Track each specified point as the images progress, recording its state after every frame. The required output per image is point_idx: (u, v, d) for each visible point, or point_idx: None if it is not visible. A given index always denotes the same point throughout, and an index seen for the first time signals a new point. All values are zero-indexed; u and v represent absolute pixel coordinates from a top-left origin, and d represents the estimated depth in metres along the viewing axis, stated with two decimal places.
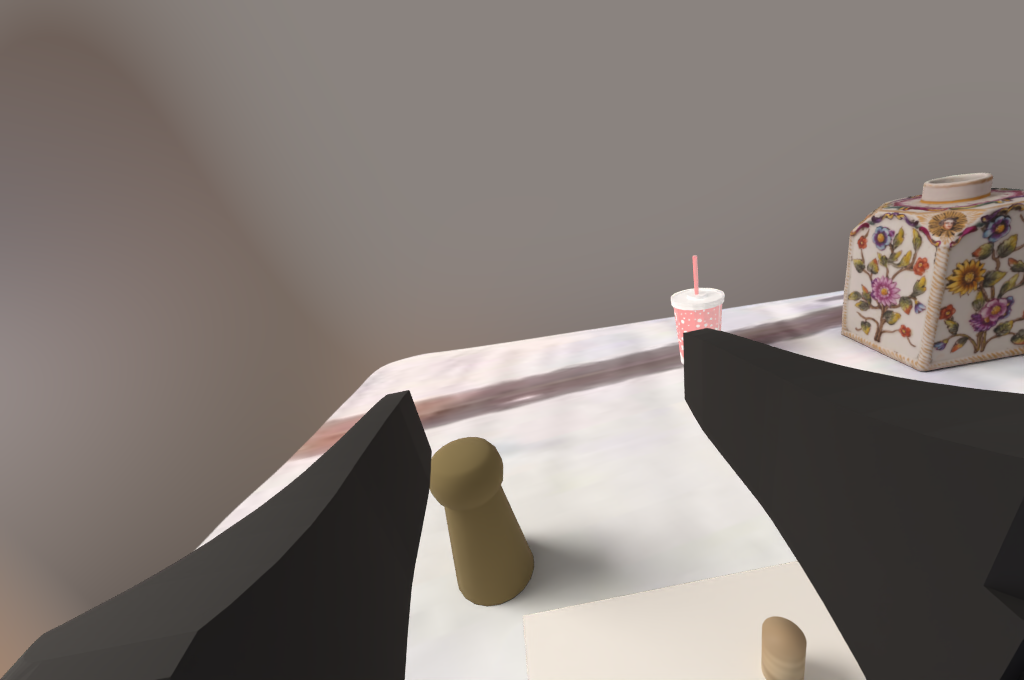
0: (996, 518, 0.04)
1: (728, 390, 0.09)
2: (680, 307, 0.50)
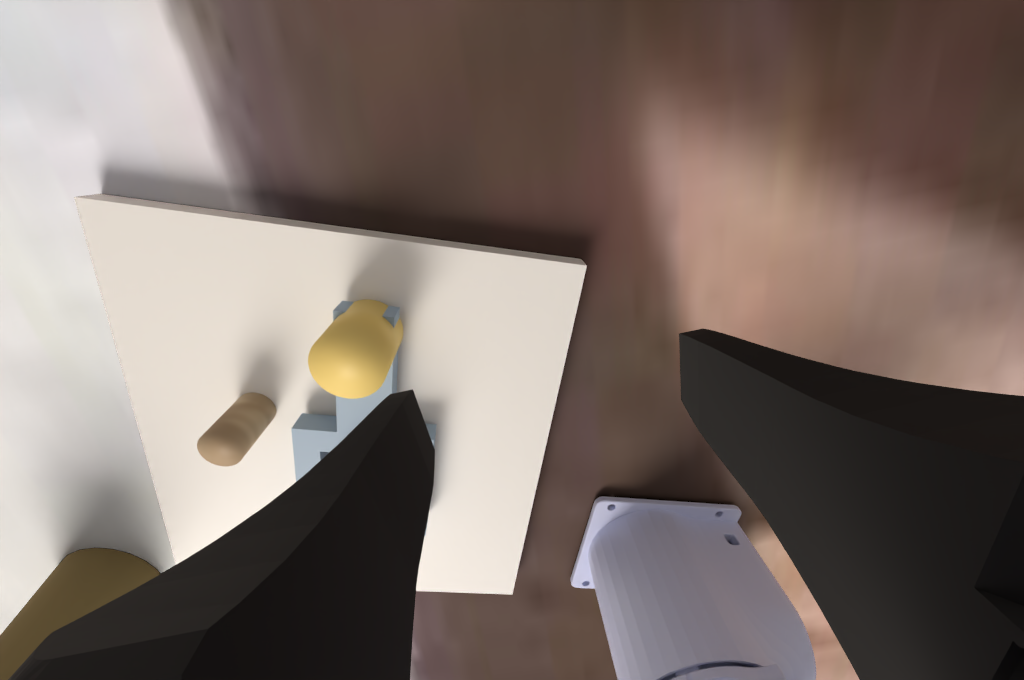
0: (986, 520, 0.04)
1: (724, 391, 0.09)
2: None
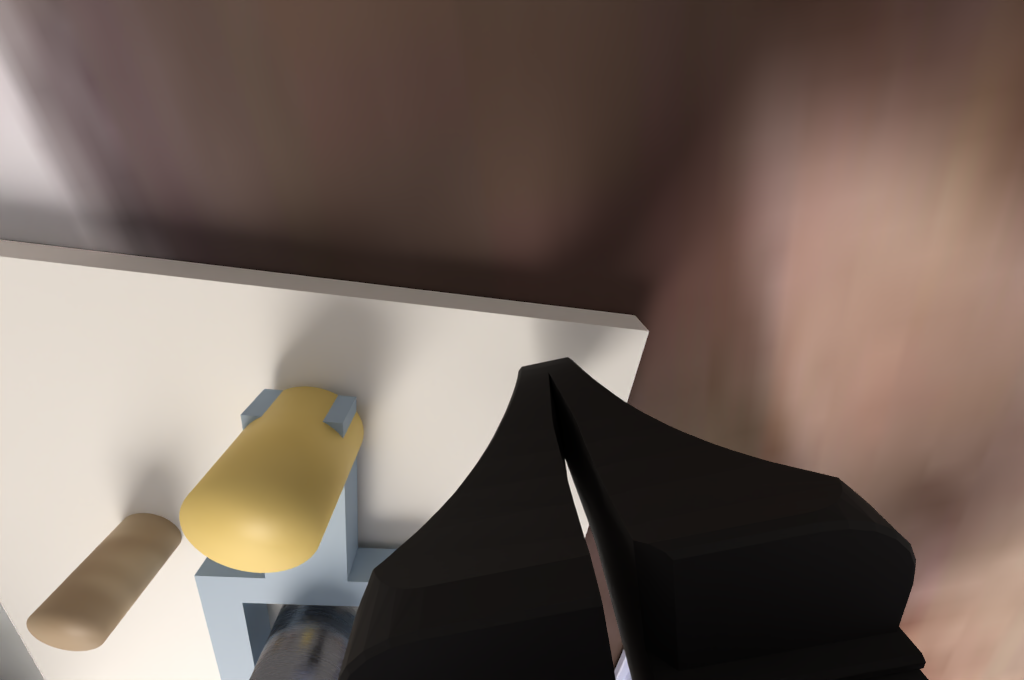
0: (636, 587, 0.04)
1: (564, 423, 0.09)
2: None
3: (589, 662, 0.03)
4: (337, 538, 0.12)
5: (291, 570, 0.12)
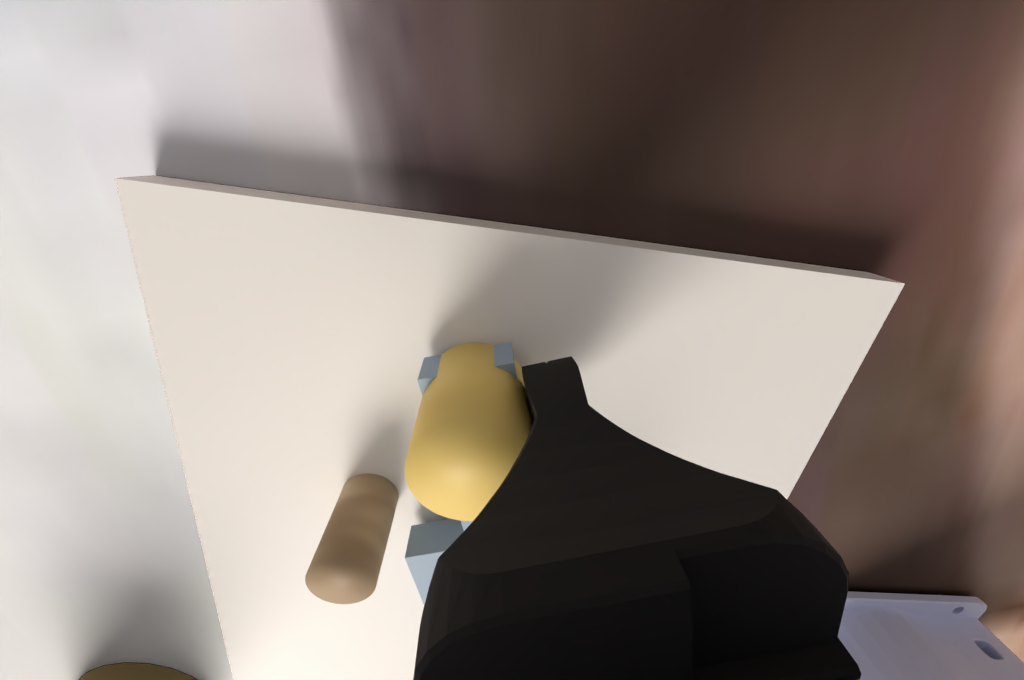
0: None
1: None
2: None
3: (669, 647, 0.03)
4: None
5: None
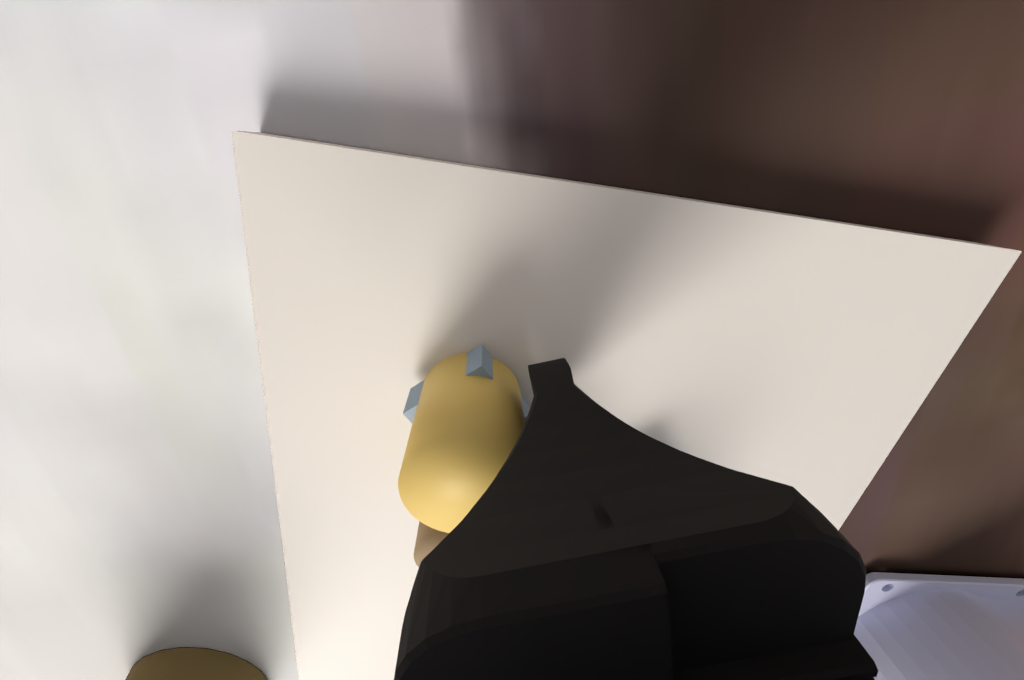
0: None
1: None
2: None
3: (648, 650, 0.03)
4: None
5: None
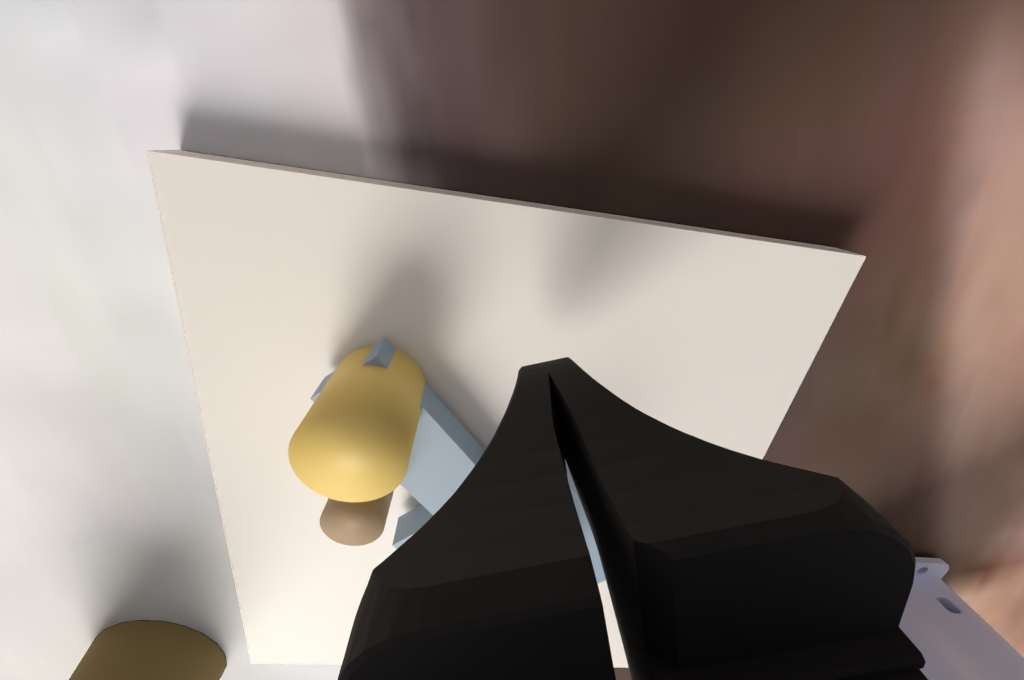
0: (636, 586, 0.04)
1: (564, 423, 0.09)
2: None
3: (589, 662, 0.03)
4: (458, 456, 0.13)
5: None
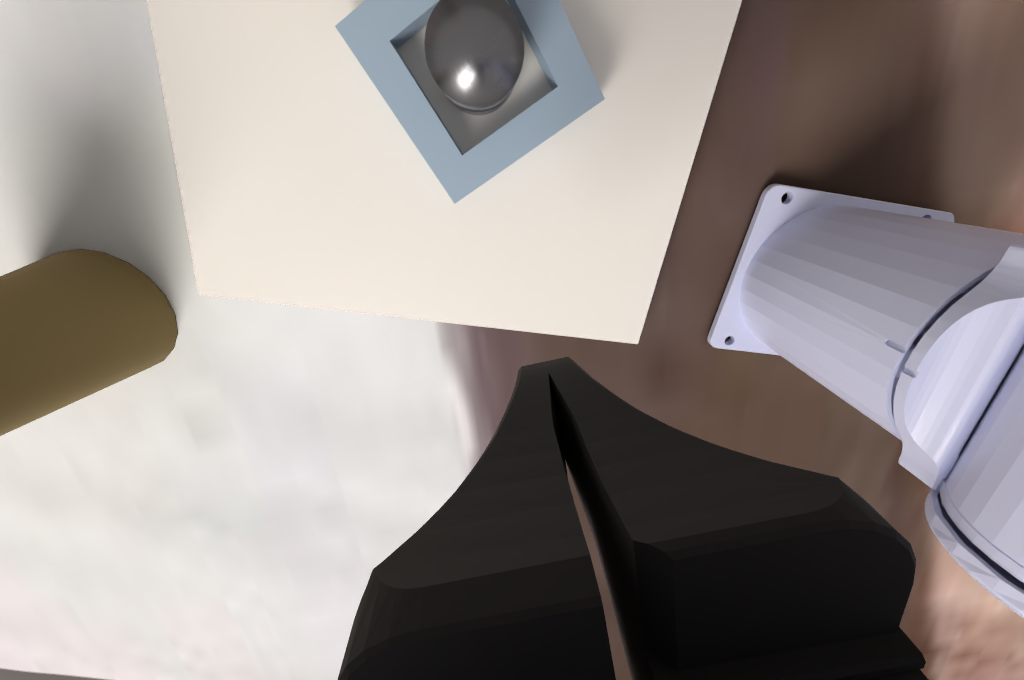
0: (636, 587, 0.04)
1: (564, 423, 0.09)
2: None
3: (589, 662, 0.03)
4: None
5: None
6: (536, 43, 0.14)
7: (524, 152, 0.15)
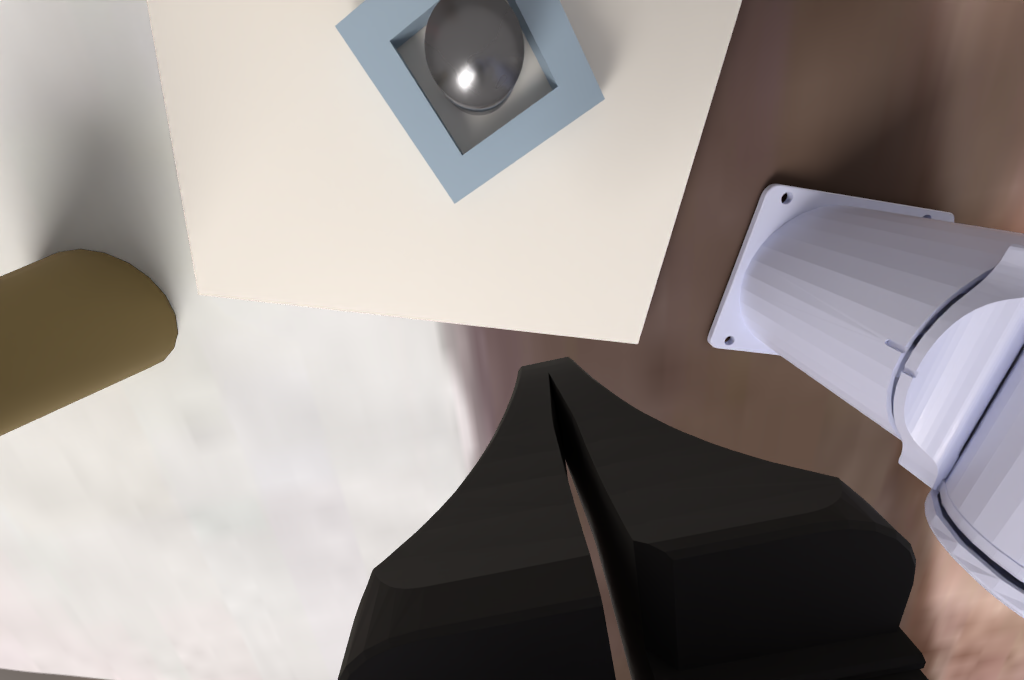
0: (636, 587, 0.04)
1: (564, 423, 0.09)
2: None
3: (589, 662, 0.03)
4: None
5: None
6: (536, 43, 0.14)
7: (524, 152, 0.15)
